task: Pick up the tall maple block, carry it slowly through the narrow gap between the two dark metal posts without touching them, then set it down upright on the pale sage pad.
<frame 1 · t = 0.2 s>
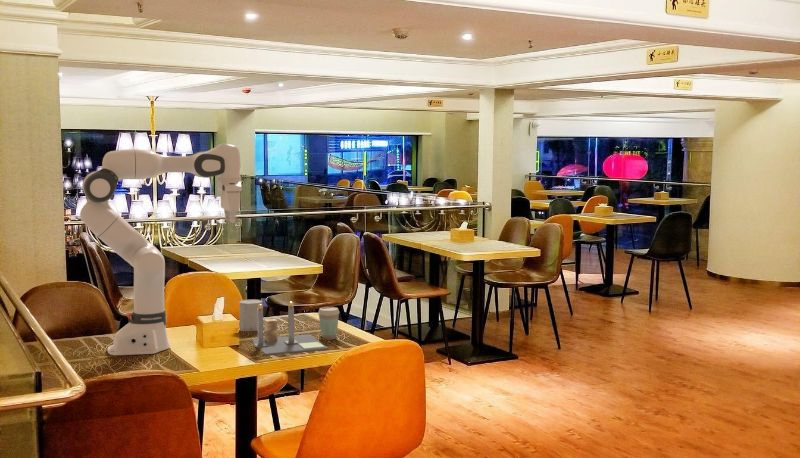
hand: (230, 221, 322), 47 cm above the table, tool pointing down, fingers open, 8 cm apart
pad: (311, 348, 316), resting on mat
gate: (276, 346, 318), resting on mat
coffee cup: (328, 338, 332), on the table
block: (271, 340, 325), point 1 cm above the table, touching mat
mat: (288, 345, 320), on the table
grey canister: (251, 330, 346), on the table
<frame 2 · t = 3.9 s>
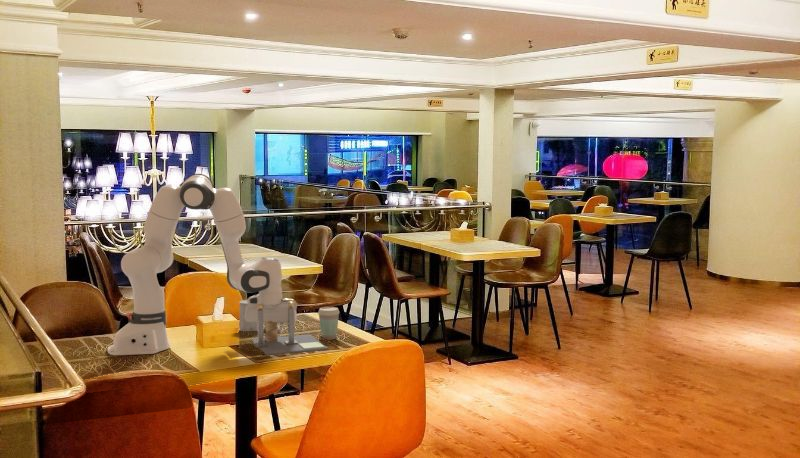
hand: (271, 333, 325), 4 cm above the table, tool pointing down, fingers closed on block, 5 cm apart
block: (271, 340, 325), point 1 cm above the table, touching gripper, mat
everything else where it was.
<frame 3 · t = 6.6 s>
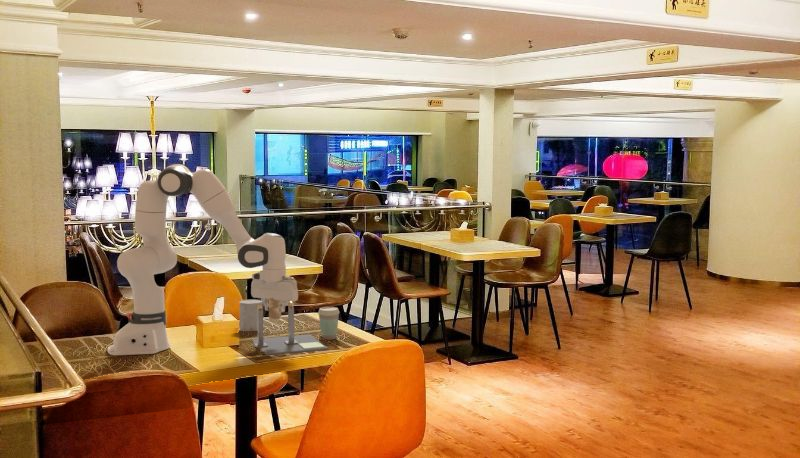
hand: (274, 311, 318), 14 cm above the table, tool pointing down, fingers closed on block, 5 cm apart
block: (275, 317, 319), point 11 cm above the table, touching gripper
everything else where it was.
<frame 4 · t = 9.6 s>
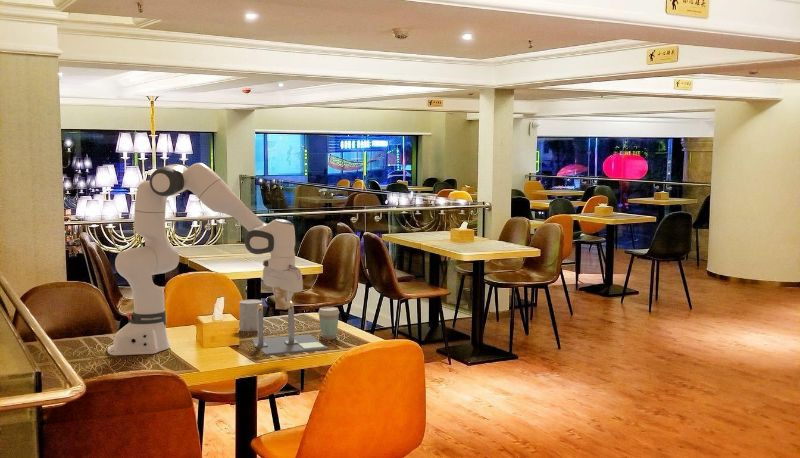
hand: (282, 300, 305), 20 cm above the table, tool pointing down, fingers closed on block, 5 cm apart
block: (282, 308, 306), point 17 cm above the table, touching gripper
everything else where it was.
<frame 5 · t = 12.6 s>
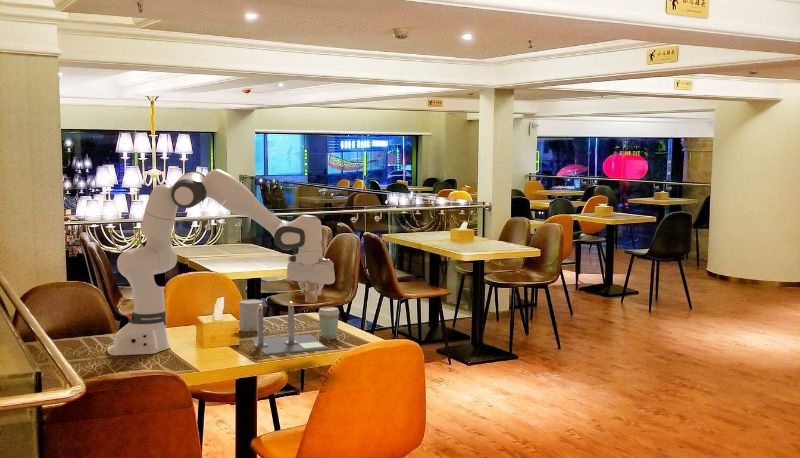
hand: (311, 293, 314), 21 cm above the table, tool pointing down, fingers closed on block, 5 cm apart
block: (311, 300, 314), point 18 cm above the table, touching gripper
everything else where it was.
when the fingers open (5 cm above the table, at t = 15.4 s): block stays where it is, resting on pad.
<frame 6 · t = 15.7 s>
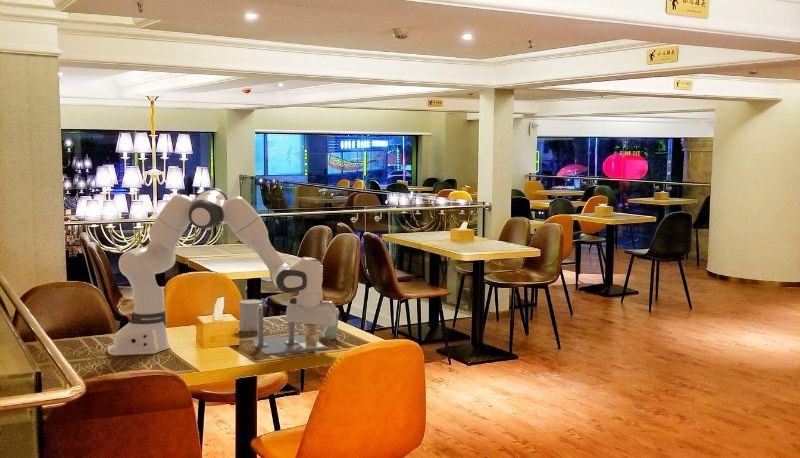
hand: (311, 335, 316), 5 cm above the table, tool pointing down, fingers open, 8 cm apart
block: (311, 344, 316), point 1 cm above the table, touching pad
everything else where it was.
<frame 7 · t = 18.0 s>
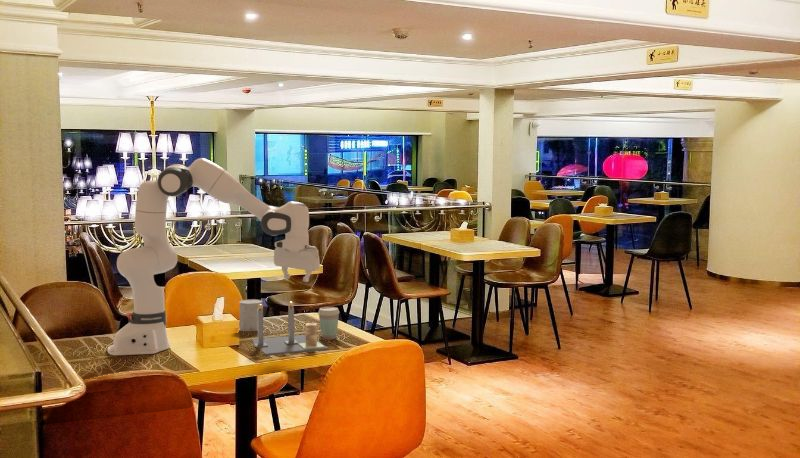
hand: (296, 280, 317), 26 cm above the table, tool pointing down, fingers open, 8 cm apart
nothing on the table moved.
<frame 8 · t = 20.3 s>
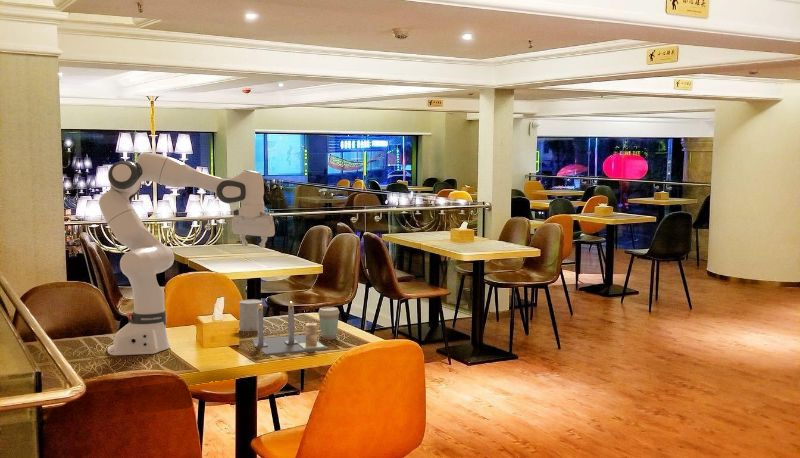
hand: (253, 246, 326), 37 cm above the table, tool pointing down, fingers open, 8 cm apart
nothing on the table moved.
at the end: block inside the target area on the pad (0.2 cm from its centre), point 1.2 cm above the pad's base; block tilted 0°; the gripper is holding nothing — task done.
